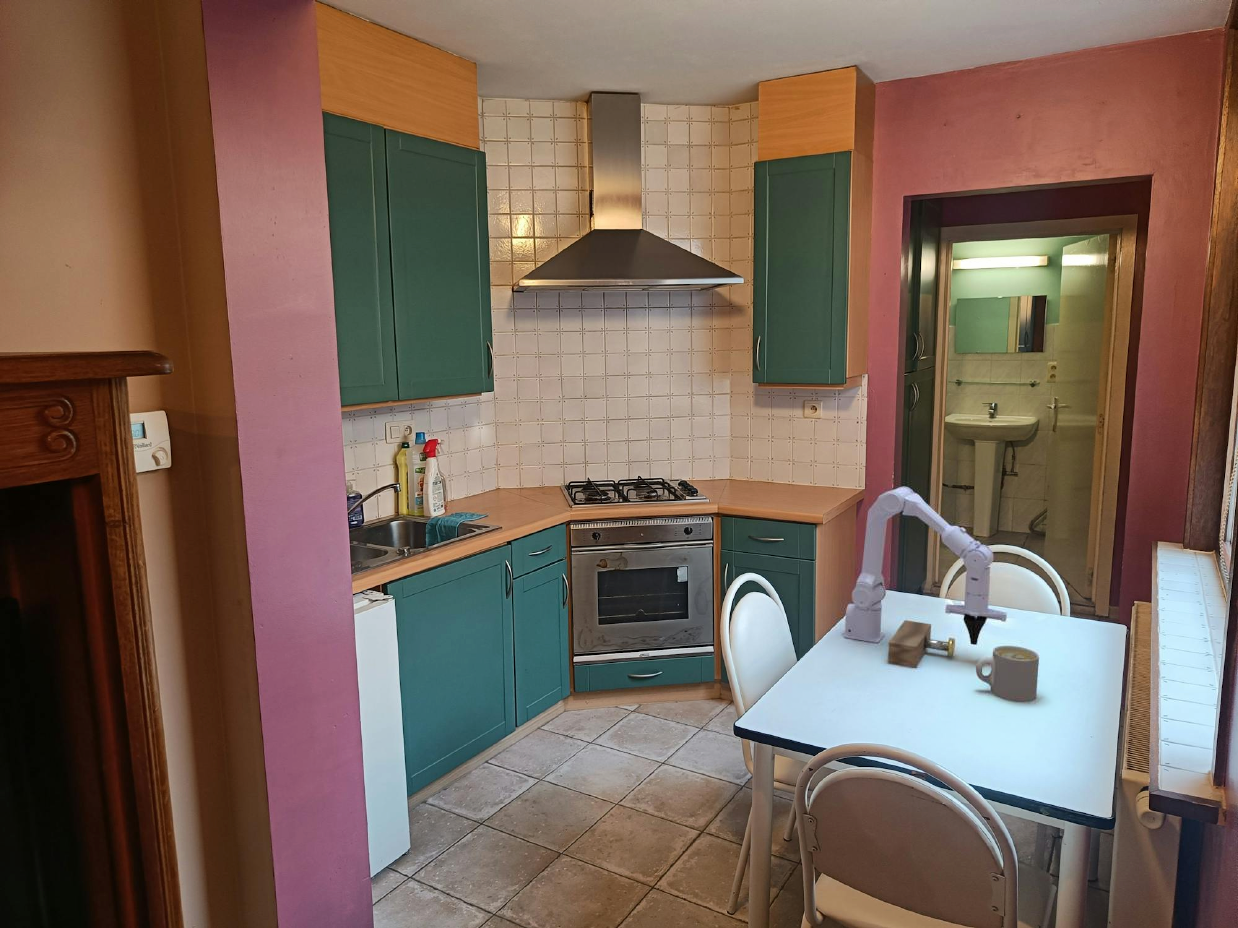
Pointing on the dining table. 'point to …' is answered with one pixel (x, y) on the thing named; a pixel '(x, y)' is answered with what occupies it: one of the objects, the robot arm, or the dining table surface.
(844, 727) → the dining table surface
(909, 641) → the drawbar beam
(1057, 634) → the dining table surface
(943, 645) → the steel pin
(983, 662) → the coffee mug
